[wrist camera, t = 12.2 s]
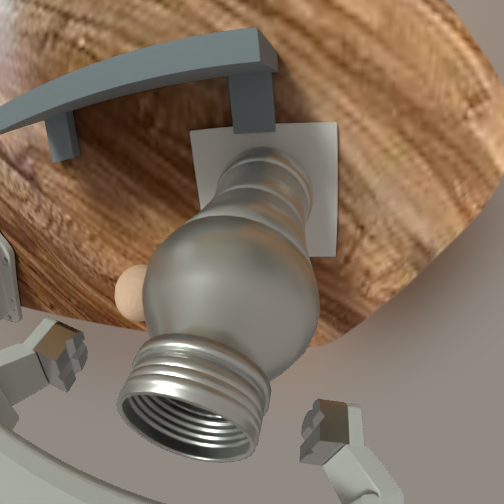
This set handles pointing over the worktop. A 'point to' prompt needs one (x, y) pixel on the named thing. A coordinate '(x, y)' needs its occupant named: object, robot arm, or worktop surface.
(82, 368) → the robot arm
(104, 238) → the worktop surface
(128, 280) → the egg
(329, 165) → the grey mat
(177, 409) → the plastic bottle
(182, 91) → the worktop surface
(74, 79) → the slate screen
